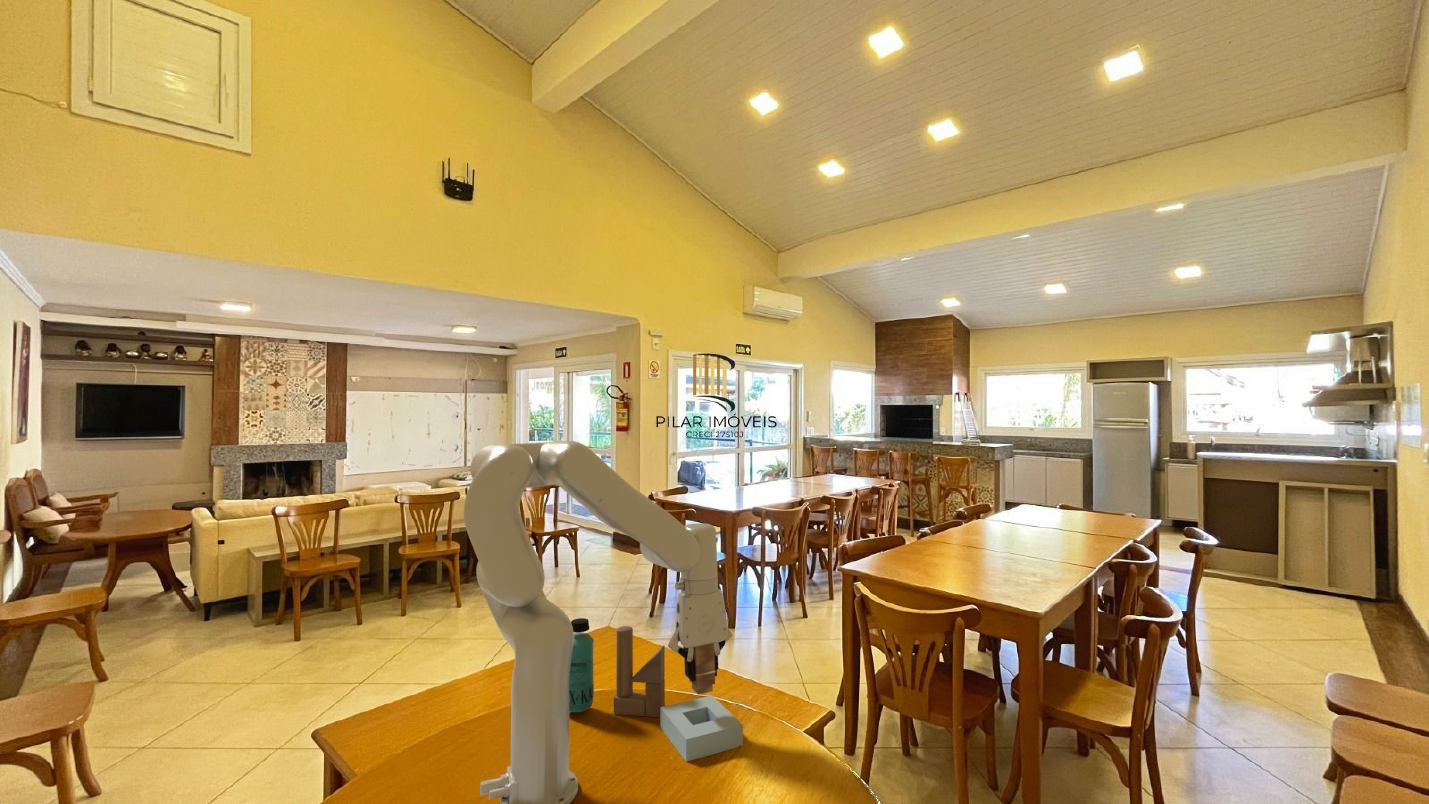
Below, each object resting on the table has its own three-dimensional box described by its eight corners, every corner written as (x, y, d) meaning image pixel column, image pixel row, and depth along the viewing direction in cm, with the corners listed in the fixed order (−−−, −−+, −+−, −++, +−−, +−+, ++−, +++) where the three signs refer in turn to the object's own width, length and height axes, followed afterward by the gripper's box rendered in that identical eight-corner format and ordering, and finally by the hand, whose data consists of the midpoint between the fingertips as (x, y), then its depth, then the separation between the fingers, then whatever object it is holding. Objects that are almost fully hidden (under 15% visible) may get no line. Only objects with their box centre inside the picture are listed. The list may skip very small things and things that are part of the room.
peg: (697, 696, 111) (695, 644, 111) (688, 687, 114) (687, 638, 115) (715, 691, 112) (714, 641, 113) (707, 683, 116) (706, 634, 117)
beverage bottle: (560, 710, 124) (560, 618, 125) (589, 703, 127) (590, 613, 129) (567, 723, 118) (567, 626, 120) (597, 715, 121) (598, 621, 123)
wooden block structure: (661, 718, 120) (660, 632, 121) (613, 715, 122) (613, 630, 123) (665, 710, 123) (664, 627, 125) (618, 707, 125) (618, 625, 126)
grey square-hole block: (686, 761, 104) (686, 739, 104) (660, 727, 116) (660, 707, 116) (742, 745, 109) (742, 724, 109) (712, 714, 121) (712, 695, 122)
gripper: (667, 596, 108) (669, 693, 107) (744, 583, 115) (746, 674, 114) (654, 586, 114) (656, 678, 113) (727, 575, 122) (730, 661, 121)
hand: (701, 675), depth 114 cm, fingers closed on peg, 4 cm apart
